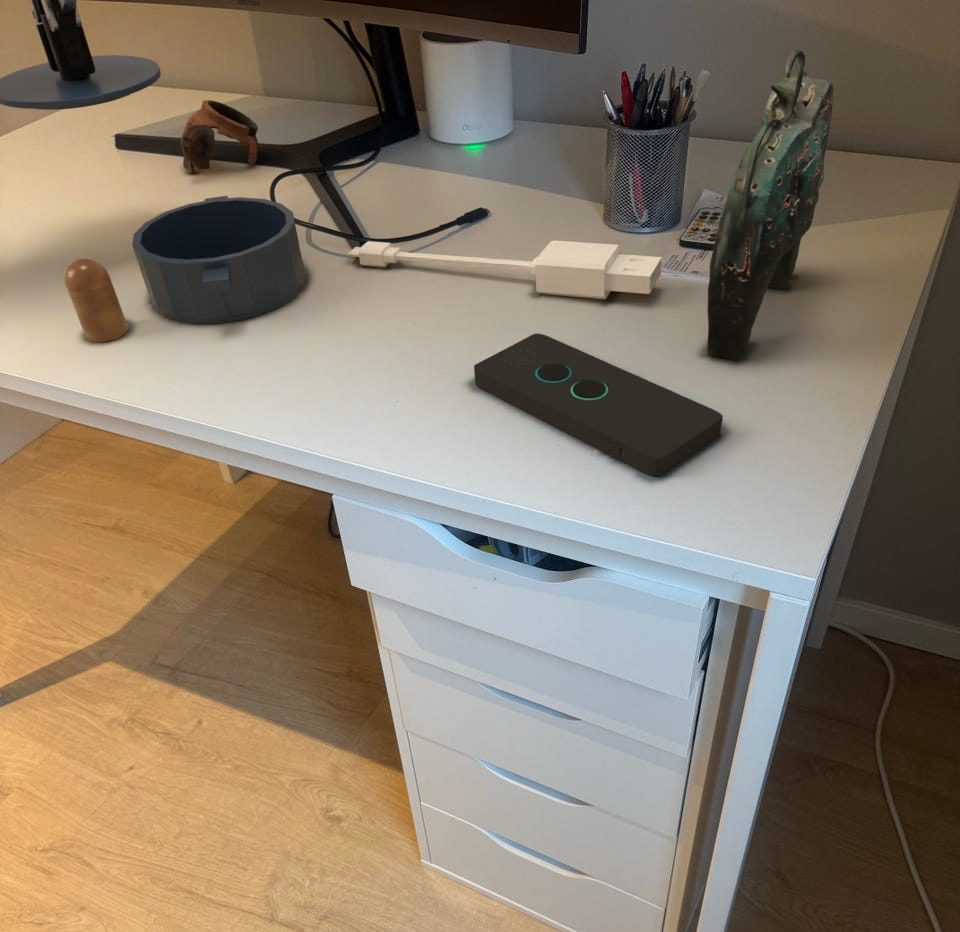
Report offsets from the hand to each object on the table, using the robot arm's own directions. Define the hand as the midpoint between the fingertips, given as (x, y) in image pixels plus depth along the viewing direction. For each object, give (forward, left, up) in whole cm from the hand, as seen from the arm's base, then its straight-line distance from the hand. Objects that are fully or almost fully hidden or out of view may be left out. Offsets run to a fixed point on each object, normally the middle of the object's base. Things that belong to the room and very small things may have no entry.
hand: (73, 70), depth 91 cm
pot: (+11, -17, -17) cm, 26 cm away
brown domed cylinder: (-1, -23, -17) cm, 28 cm away
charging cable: (+38, -24, -17) cm, 48 cm away
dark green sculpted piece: (+59, -38, -17) cm, 72 cm away
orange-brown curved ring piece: (+10, +20, -17) cm, 28 cm away
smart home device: (+40, -49, -17) cm, 66 cm away
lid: (0, 0, -1) cm, 1 cm away
